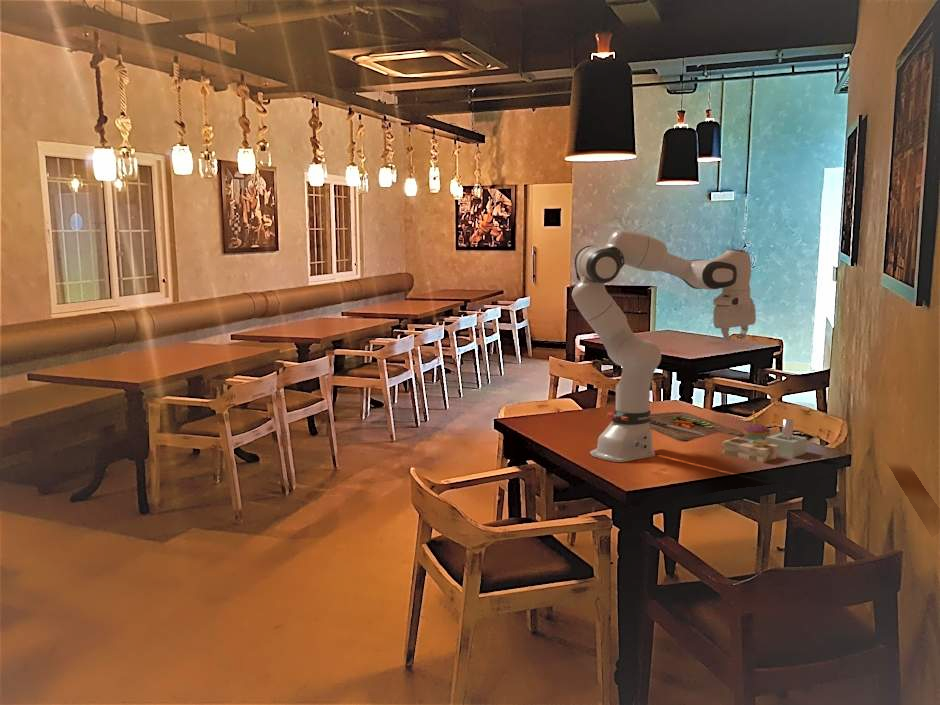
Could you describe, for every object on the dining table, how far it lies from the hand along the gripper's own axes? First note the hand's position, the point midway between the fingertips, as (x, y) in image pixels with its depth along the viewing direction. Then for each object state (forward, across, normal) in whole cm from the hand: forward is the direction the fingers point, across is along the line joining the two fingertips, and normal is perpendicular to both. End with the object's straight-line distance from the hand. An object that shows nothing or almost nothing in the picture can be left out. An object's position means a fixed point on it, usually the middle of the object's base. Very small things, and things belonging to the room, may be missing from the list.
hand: (734, 340), depth 248 cm
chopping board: (+38, -14, -29) cm, 50 cm away
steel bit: (+36, -5, +17) cm, 40 cm away
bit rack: (+37, -5, +17) cm, 41 cm away
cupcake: (+37, -11, +3) cm, 39 cm away
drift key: (+37, +7, +15) cm, 40 cm away
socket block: (+37, +7, +11) cm, 39 cm away
